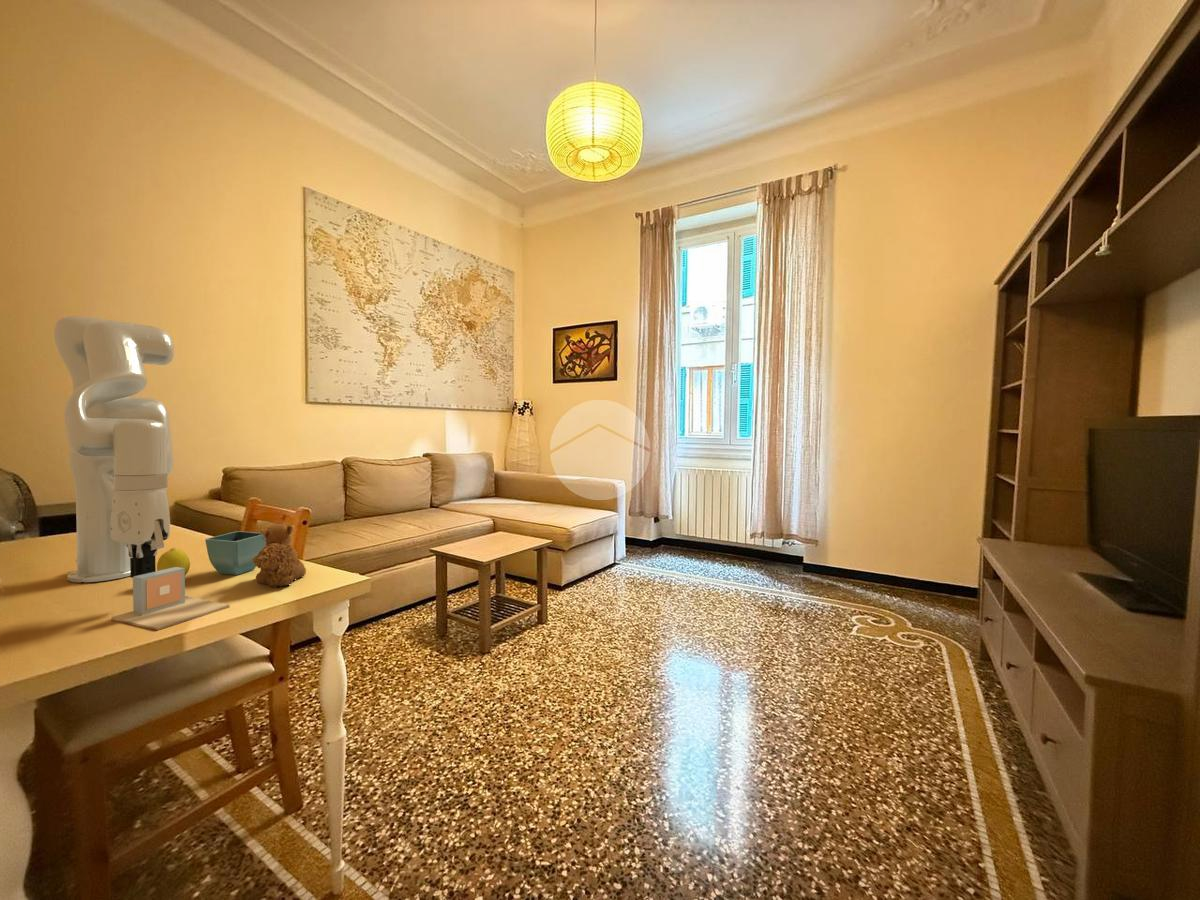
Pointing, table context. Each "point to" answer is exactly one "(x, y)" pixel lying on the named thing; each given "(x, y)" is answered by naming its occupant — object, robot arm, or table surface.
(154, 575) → the tile
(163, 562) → the lemon
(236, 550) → the flower pot
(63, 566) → the table surface
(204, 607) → the cork mat
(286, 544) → the brown fuzzy figure
